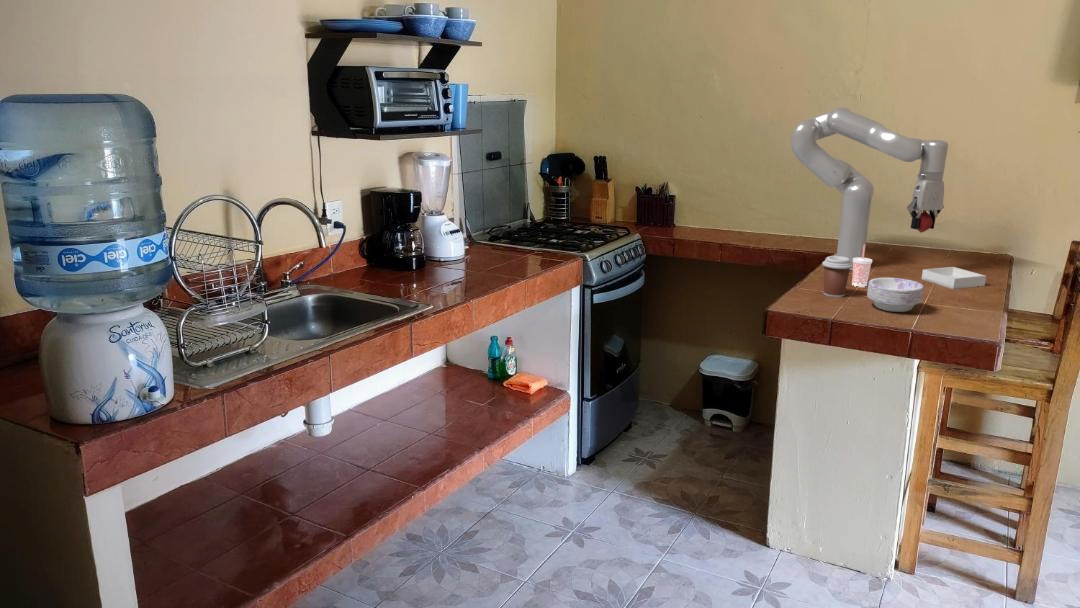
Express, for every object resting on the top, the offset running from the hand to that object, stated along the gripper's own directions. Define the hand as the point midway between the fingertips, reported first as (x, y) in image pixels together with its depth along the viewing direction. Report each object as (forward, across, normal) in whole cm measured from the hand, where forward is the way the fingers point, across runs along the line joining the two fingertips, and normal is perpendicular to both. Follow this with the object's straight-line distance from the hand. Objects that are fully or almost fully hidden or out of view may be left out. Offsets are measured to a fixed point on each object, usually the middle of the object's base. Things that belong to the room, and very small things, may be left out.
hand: (922, 228), depth 271 cm
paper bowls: (+17, -40, -32) cm, 54 cm away
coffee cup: (+17, -46, -14) cm, 52 cm away
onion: (+2, 0, 0) cm, 2 cm away
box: (+16, +3, -14) cm, 22 cm away
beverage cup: (+17, -30, -8) cm, 36 cm away
